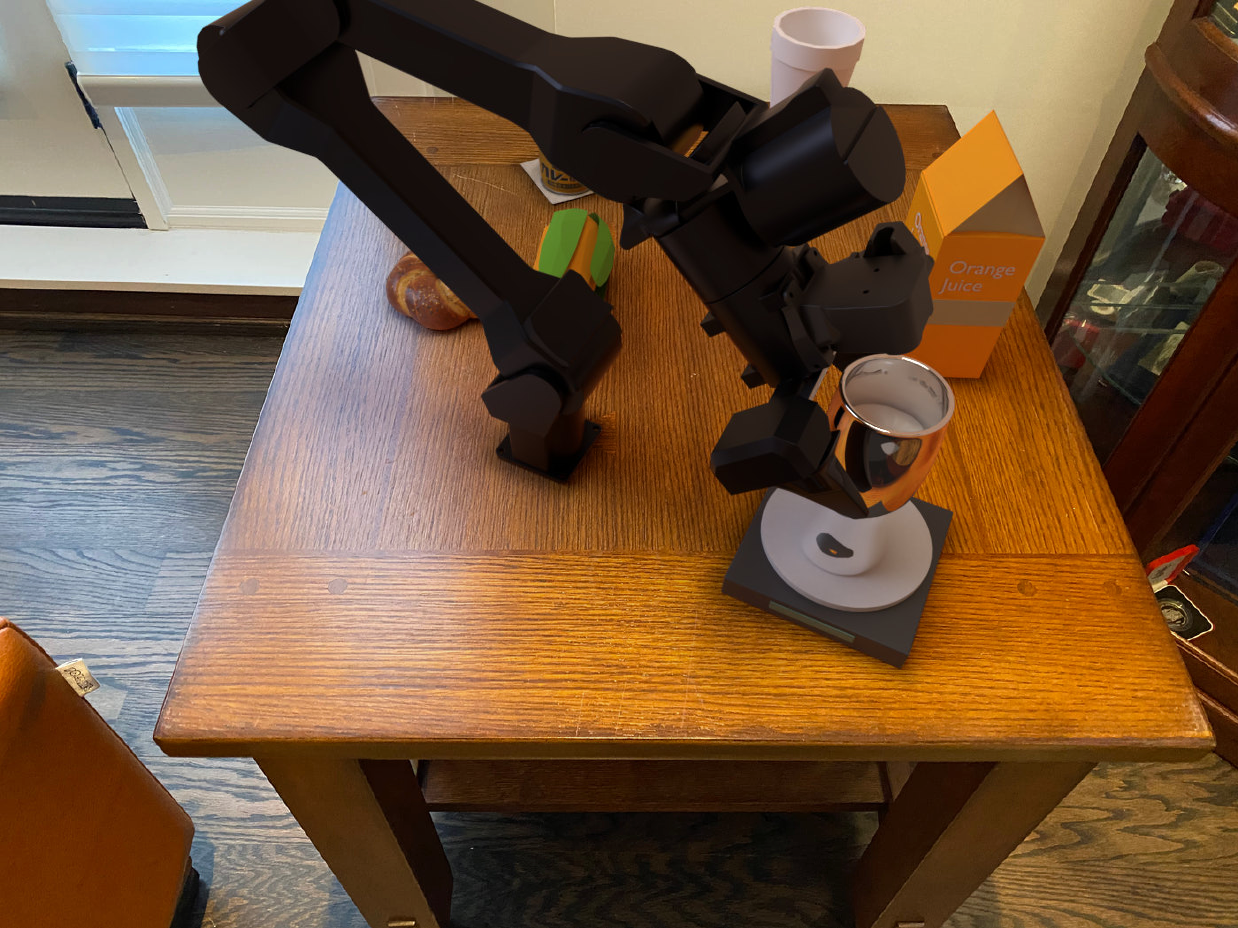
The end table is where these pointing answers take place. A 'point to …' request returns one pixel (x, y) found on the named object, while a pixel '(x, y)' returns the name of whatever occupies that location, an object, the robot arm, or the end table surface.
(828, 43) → the foam cup
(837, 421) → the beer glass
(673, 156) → the robot arm
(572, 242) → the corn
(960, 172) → the orange juice
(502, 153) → the end table surface
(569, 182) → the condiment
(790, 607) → the scale
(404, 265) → the pretzel
